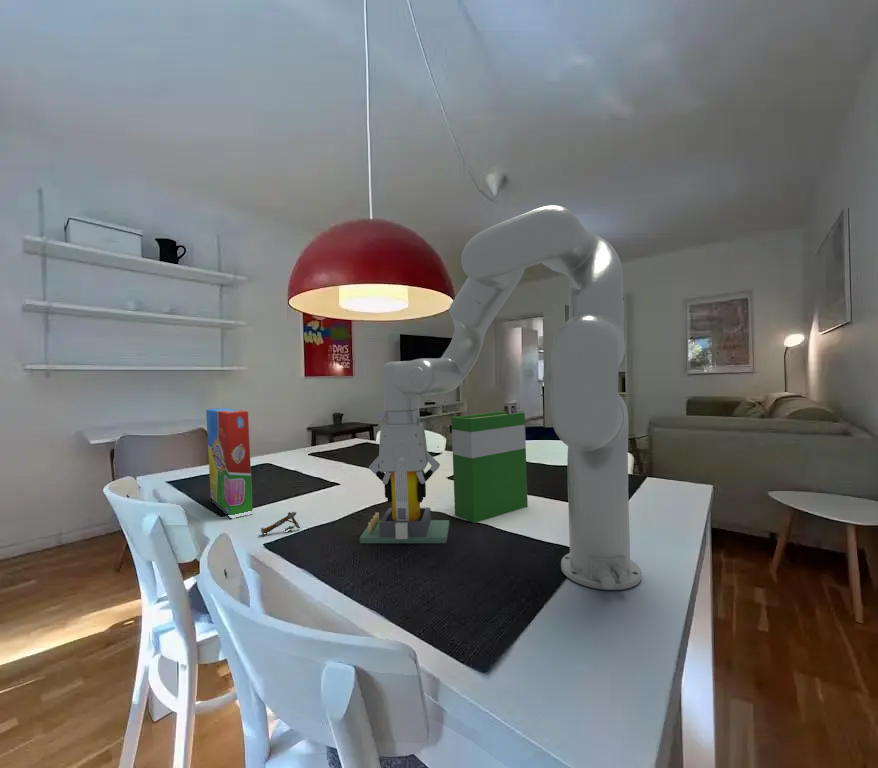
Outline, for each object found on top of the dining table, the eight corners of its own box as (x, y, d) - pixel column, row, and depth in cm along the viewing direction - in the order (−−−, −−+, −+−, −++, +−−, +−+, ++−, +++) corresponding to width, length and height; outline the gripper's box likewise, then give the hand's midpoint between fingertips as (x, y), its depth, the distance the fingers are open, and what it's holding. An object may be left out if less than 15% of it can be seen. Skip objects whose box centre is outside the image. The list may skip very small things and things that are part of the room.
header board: (445, 544, 84) (445, 524, 84) (358, 544, 85) (357, 524, 85) (449, 525, 94) (448, 507, 94) (372, 525, 96) (371, 507, 96)
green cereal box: (507, 500, 111) (504, 411, 111) (527, 506, 105) (524, 412, 105) (454, 514, 101) (451, 417, 101) (474, 523, 95) (470, 419, 95)
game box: (210, 503, 119) (205, 409, 119) (230, 498, 123) (226, 407, 122) (231, 520, 104) (225, 412, 103) (253, 514, 107) (248, 410, 107)
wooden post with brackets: (303, 527, 94) (294, 510, 94) (270, 547, 92) (260, 529, 91) (303, 524, 96) (294, 508, 95) (270, 544, 94) (260, 527, 93)
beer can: (422, 515, 93) (419, 449, 93) (418, 525, 87) (415, 454, 87) (395, 516, 93) (392, 450, 93) (389, 525, 87) (386, 455, 87)
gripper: (358, 421, 87) (362, 506, 87) (440, 419, 85) (443, 505, 85) (367, 417, 94) (371, 496, 95) (443, 415, 93) (446, 495, 93)
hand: (405, 500), depth 90 cm, fingers closed on beer can, 6 cm apart
